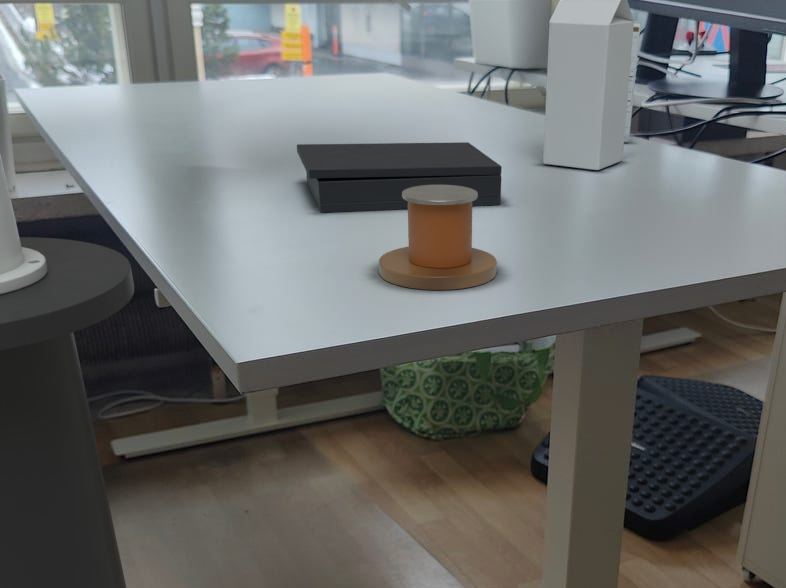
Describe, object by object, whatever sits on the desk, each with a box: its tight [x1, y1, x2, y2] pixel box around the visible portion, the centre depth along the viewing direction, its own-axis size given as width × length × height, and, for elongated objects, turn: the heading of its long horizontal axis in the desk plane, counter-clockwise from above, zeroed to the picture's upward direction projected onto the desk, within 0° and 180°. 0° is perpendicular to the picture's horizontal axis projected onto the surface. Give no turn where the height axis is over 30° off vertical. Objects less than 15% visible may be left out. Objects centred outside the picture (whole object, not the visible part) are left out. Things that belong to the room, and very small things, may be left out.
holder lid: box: [296, 141, 503, 179], centre depth 96 cm, size 18×14×1 cm
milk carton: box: [542, 0, 635, 171], centre depth 108 cm, size 7×7×19 cm
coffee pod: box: [402, 185, 478, 268], centre depth 72 cm, size 6×6×5 cm
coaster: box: [378, 246, 498, 291], centre depth 73 cm, size 9×9×1 cm
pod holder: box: [305, 171, 502, 213], centre depth 97 cm, size 18×14×3 cm
